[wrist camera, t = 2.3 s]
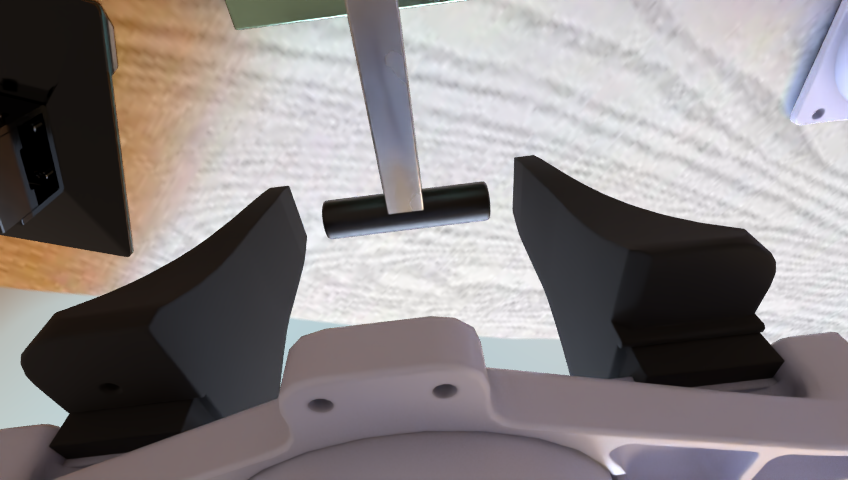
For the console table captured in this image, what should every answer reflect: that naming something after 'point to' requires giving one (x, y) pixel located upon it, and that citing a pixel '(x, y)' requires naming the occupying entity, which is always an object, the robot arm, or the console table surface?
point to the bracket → (297, 11)
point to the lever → (394, 140)
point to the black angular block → (61, 127)
